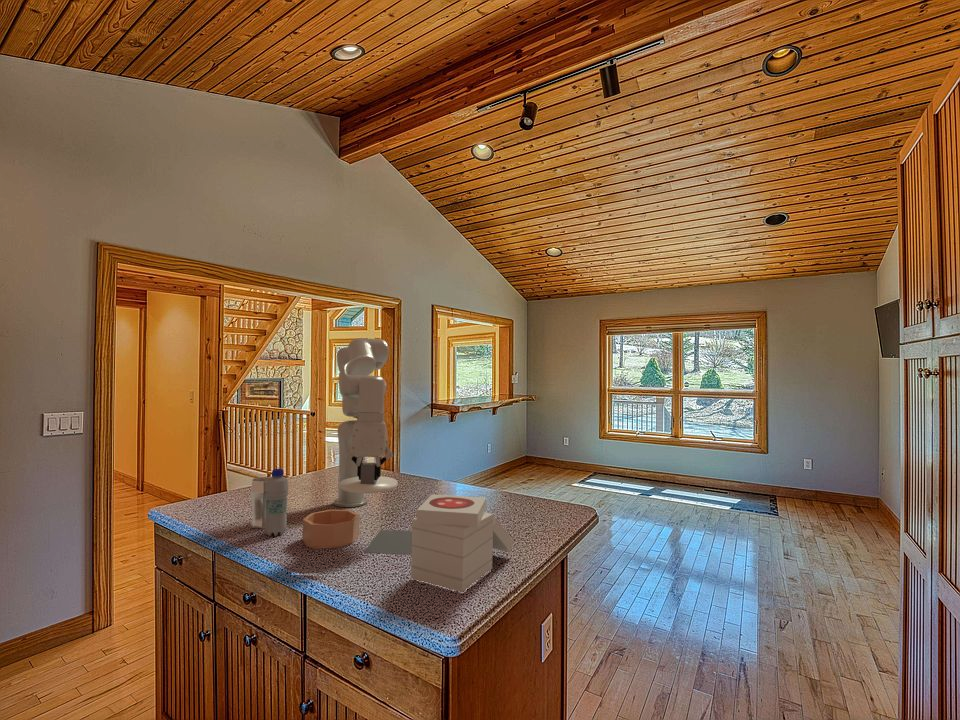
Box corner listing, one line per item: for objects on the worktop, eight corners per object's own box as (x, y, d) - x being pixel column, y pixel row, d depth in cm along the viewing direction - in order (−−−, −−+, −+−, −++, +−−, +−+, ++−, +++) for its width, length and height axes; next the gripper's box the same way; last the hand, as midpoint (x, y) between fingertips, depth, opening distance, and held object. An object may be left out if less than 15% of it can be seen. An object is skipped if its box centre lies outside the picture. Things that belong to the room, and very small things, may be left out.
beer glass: (264, 529, 149) (265, 482, 149) (244, 527, 150) (246, 480, 151) (277, 523, 156) (279, 477, 156) (259, 521, 157) (260, 476, 157)
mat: (380, 531, 150) (380, 529, 150) (440, 534, 149) (440, 532, 149) (363, 554, 131) (363, 552, 131) (431, 557, 130) (431, 555, 130)
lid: (348, 478, 150) (349, 457, 150) (402, 480, 149) (402, 459, 149) (331, 492, 133) (331, 469, 133) (391, 494, 132) (391, 471, 132)
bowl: (316, 531, 149) (317, 509, 149) (363, 533, 148) (363, 510, 148) (295, 549, 134) (296, 524, 134) (347, 551, 133) (348, 526, 133)
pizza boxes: (519, 556, 132) (521, 491, 133) (464, 600, 106) (466, 519, 106) (461, 543, 141) (462, 482, 142) (397, 580, 115) (399, 506, 116)
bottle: (291, 531, 148) (294, 467, 148) (276, 538, 141) (278, 471, 142) (274, 529, 150) (276, 465, 150) (258, 535, 144) (260, 469, 144)
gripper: (339, 418, 138) (337, 481, 137) (396, 420, 137) (394, 483, 137) (346, 415, 145) (344, 475, 145) (400, 417, 145) (399, 477, 145)
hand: (368, 478), depth 141 cm, fingers closed on lid, 4 cm apart
